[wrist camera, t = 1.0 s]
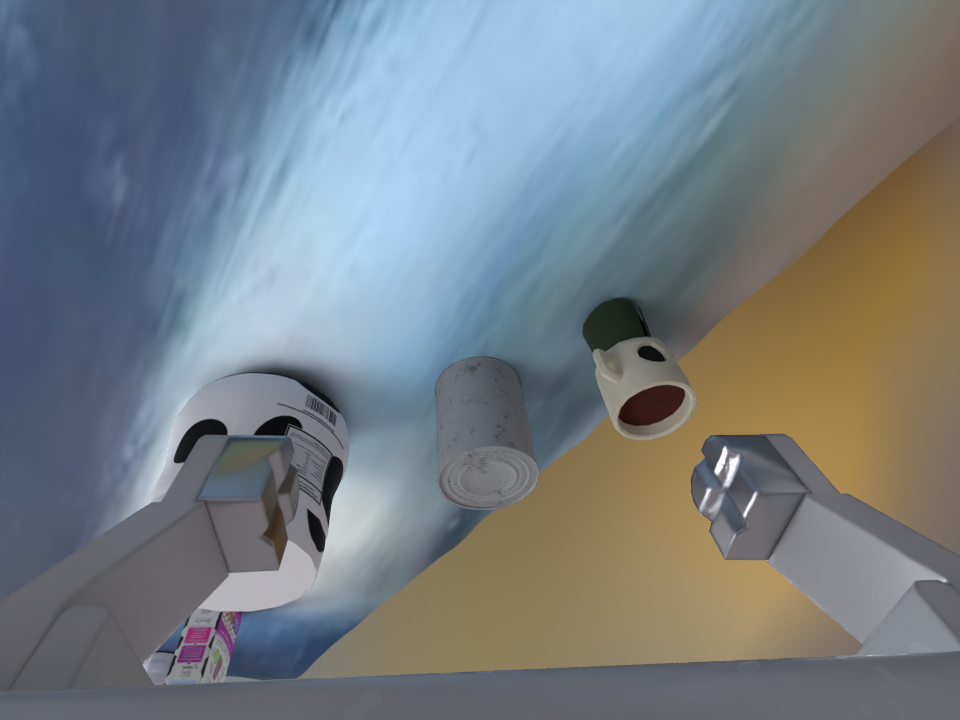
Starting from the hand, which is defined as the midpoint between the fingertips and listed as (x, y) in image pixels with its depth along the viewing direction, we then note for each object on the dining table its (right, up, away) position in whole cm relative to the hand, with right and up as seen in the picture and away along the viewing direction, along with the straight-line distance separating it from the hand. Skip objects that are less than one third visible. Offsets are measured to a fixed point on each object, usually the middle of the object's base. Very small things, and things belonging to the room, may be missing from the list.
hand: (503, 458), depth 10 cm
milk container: (-24, -4, +47) cm, 53 cm away
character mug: (+13, +6, +42) cm, 45 cm away
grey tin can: (-1, -1, +47) cm, 47 cm away
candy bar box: (-42, -37, +72) cm, 91 cm away
